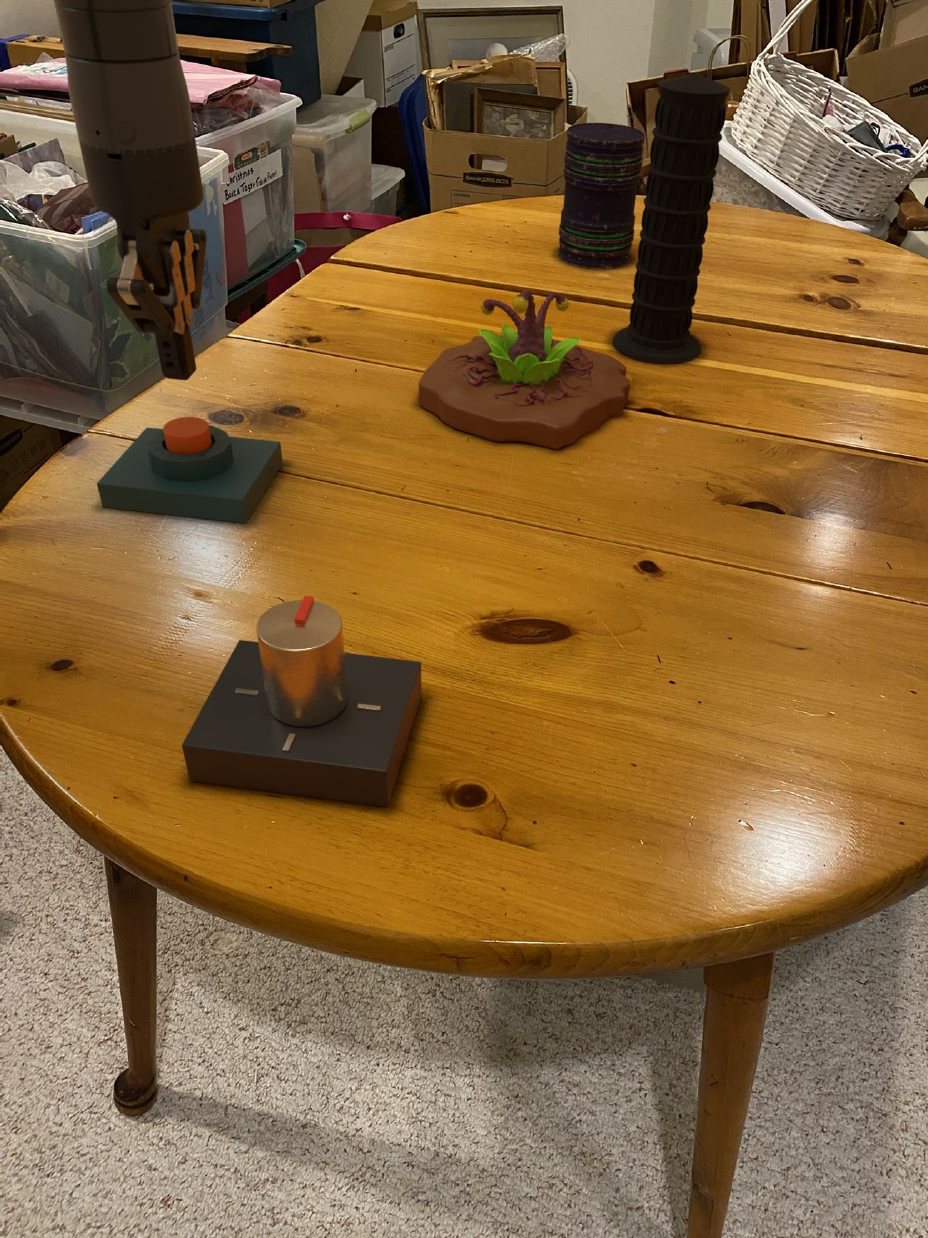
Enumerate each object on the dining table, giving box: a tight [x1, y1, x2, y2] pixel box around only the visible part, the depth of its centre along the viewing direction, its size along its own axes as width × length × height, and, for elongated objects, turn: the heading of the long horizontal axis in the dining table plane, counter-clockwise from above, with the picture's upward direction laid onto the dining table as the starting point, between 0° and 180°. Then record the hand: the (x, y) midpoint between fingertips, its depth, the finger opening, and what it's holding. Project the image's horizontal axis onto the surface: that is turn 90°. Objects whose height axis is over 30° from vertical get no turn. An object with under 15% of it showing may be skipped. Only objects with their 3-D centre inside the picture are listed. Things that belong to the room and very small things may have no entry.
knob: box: [255, 595, 348, 727], centre depth 60 cm, size 5×5×6 cm
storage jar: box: [557, 122, 646, 270], centre depth 131 cm, size 10×10×15 cm
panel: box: [181, 639, 422, 808], centre depth 63 cm, size 12×10×3 cm
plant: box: [418, 289, 631, 450], centre depth 98 cm, size 20×20×11 cm
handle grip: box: [611, 73, 731, 365], centre depth 105 cm, size 10×26×10 cm
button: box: [162, 416, 212, 455], centre depth 83 cm, size 4×4×2 cm
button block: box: [96, 424, 284, 524], centre depth 85 cm, size 12×10×4 cm
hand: (180, 375), depth 80 cm, fingers closed
